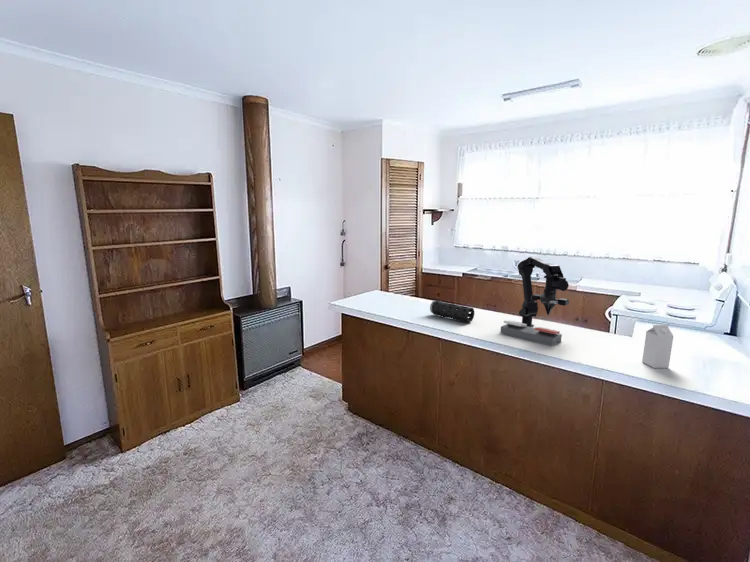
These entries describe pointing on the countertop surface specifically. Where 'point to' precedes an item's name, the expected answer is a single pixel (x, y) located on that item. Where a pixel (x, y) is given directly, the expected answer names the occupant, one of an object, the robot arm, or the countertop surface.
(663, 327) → the milk carton
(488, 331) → the countertop surface
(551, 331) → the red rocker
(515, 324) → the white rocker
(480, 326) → the countertop surface
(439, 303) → the muzzle brake
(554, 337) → the switch box
